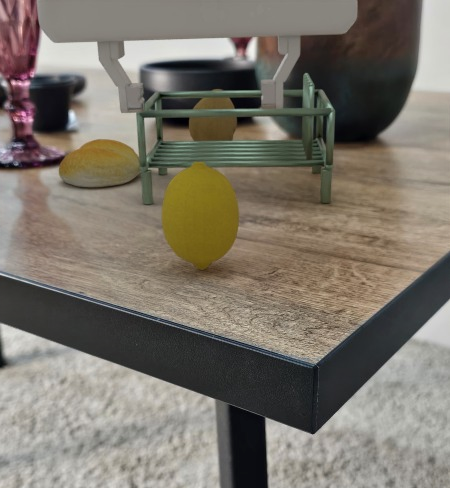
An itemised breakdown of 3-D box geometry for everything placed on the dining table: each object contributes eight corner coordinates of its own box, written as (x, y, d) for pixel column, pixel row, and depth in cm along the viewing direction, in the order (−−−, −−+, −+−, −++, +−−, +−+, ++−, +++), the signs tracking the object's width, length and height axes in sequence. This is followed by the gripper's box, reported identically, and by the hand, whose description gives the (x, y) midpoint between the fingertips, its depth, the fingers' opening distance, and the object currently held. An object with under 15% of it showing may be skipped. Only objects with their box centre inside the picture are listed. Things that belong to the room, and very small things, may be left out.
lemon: (232, 254, 57) (230, 151, 54) (246, 279, 52) (245, 168, 49) (161, 259, 57) (155, 155, 53) (168, 286, 52) (162, 172, 48)
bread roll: (49, 188, 77) (44, 149, 76) (84, 168, 85) (80, 133, 84) (123, 191, 76) (120, 152, 74) (152, 171, 84) (149, 135, 82)
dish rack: (140, 205, 71) (133, 88, 66) (158, 172, 83) (153, 72, 79) (332, 204, 70) (337, 86, 66) (321, 171, 82) (324, 69, 78)
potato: (197, 167, 85) (195, 95, 82) (179, 154, 92) (177, 87, 89) (254, 161, 87) (254, 91, 84) (233, 149, 94) (232, 84, 91)
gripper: (359, -124, 47) (351, 99, 53) (41, -111, 48) (66, 106, 53) (373, -139, 41) (363, 113, 47) (12, -124, 42) (43, 121, 48)
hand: (202, 110), depth 50 cm, fingers open, 8 cm apart
